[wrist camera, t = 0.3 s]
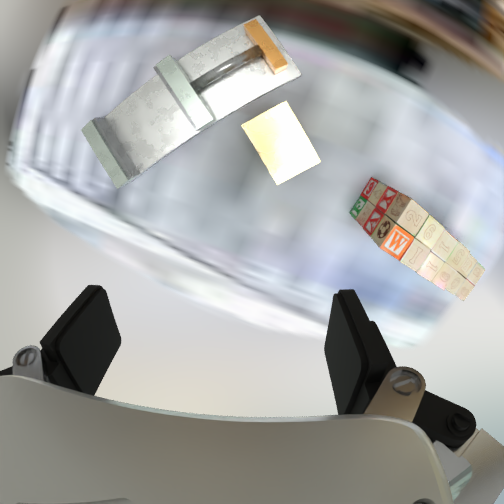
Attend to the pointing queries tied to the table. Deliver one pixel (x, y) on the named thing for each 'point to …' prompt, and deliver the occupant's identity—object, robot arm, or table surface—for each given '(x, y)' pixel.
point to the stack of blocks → (416, 239)
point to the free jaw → (215, 75)
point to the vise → (169, 113)
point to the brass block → (281, 142)
